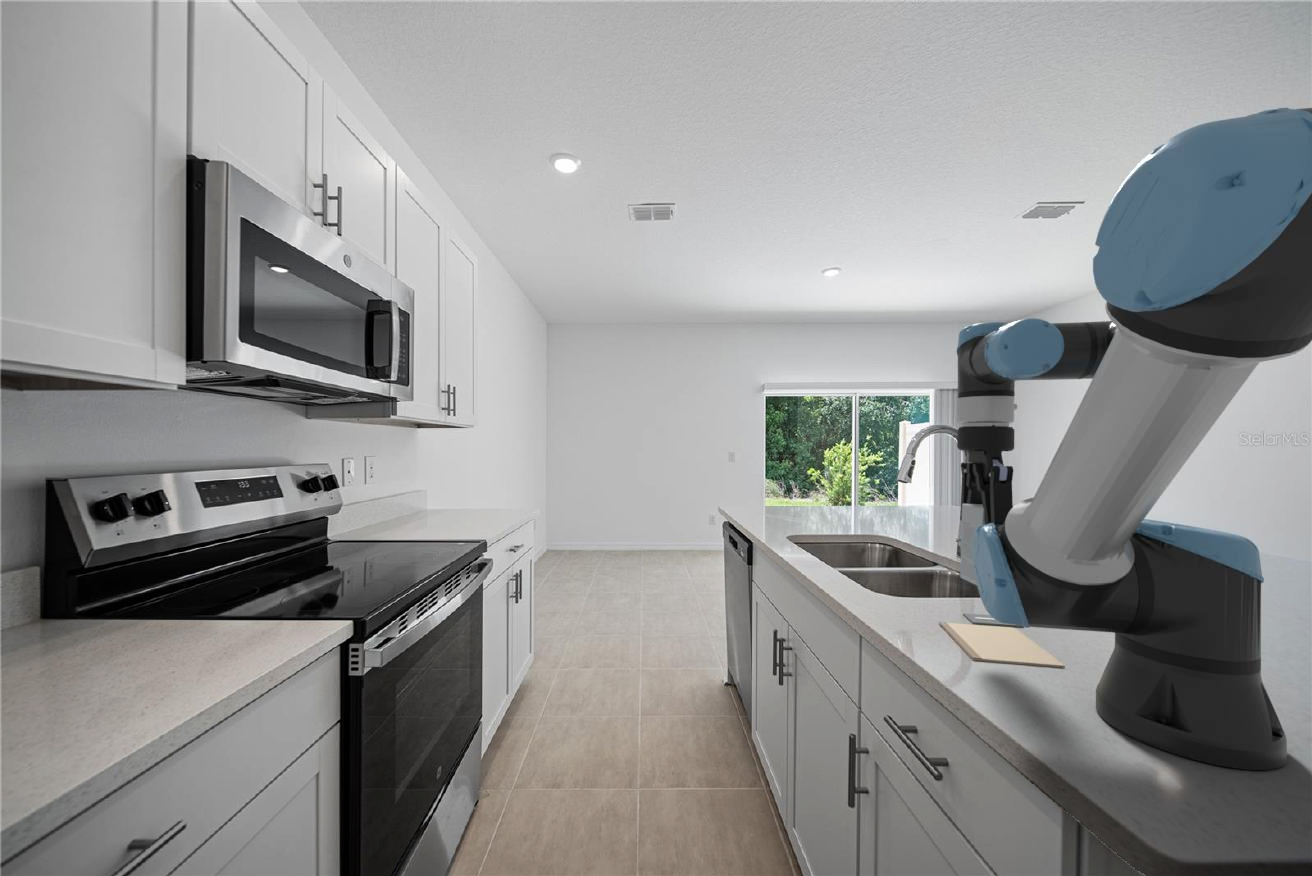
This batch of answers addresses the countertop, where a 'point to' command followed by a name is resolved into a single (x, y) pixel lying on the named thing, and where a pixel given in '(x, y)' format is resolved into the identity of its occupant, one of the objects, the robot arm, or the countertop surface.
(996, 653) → the notepad
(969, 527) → the skincare box
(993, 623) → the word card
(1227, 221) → the robot arm
